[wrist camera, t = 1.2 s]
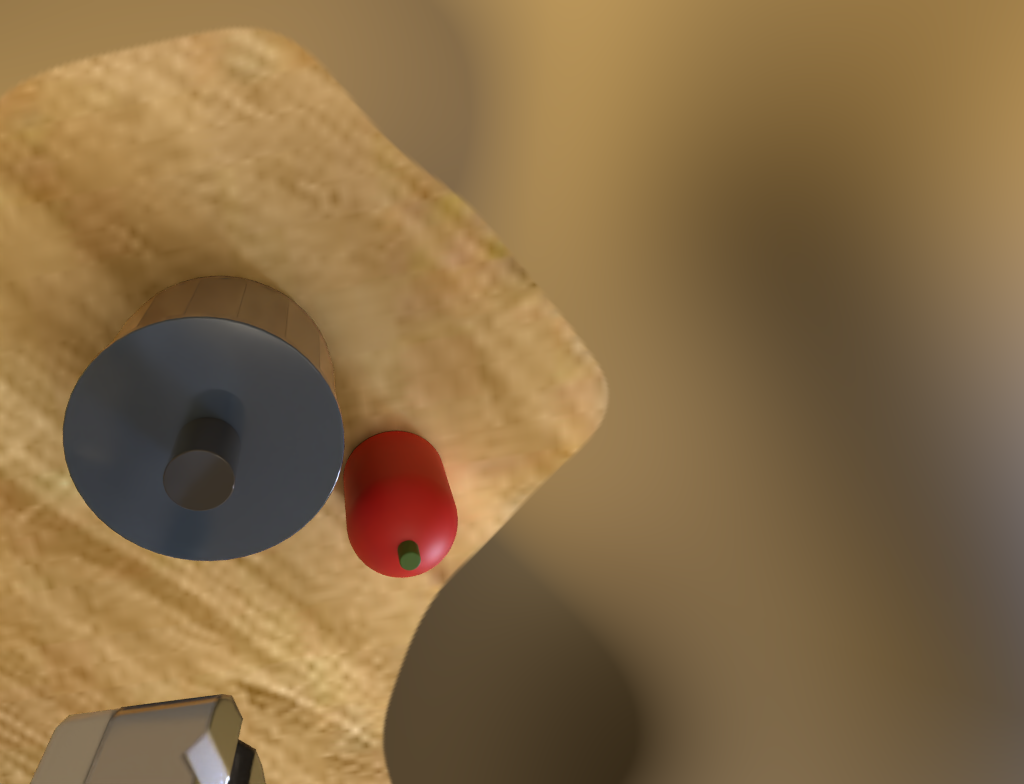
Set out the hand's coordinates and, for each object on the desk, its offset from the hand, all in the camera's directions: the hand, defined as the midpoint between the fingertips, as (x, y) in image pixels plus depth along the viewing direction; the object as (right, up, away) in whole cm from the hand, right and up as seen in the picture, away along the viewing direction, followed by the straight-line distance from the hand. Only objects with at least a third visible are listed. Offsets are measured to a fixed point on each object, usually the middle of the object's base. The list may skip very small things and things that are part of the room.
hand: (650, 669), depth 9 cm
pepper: (-7, -2, +35) cm, 36 cm away
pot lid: (-13, +1, +25) cm, 28 cm away
